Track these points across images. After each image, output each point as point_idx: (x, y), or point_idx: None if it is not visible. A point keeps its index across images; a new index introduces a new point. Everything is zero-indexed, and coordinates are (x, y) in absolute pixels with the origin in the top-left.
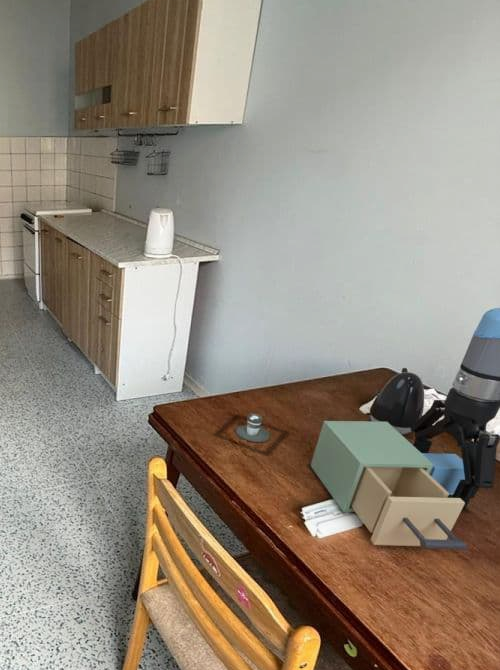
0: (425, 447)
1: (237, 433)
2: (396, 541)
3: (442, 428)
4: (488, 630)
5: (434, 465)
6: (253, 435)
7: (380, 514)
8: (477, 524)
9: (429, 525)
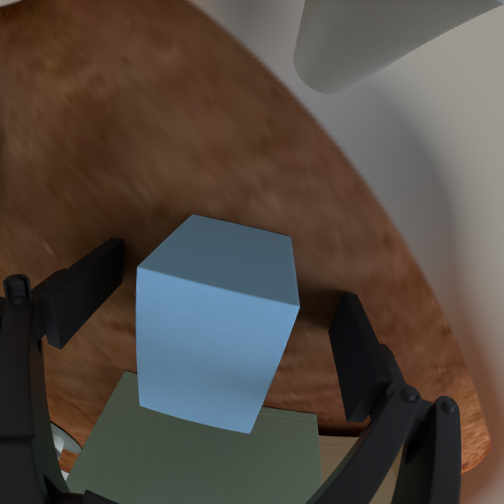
0: (70, 301)
1: (66, 449)
2: None
3: (61, 481)
4: (485, 428)
5: (230, 425)
6: (64, 440)
7: None
8: (408, 308)
9: None
